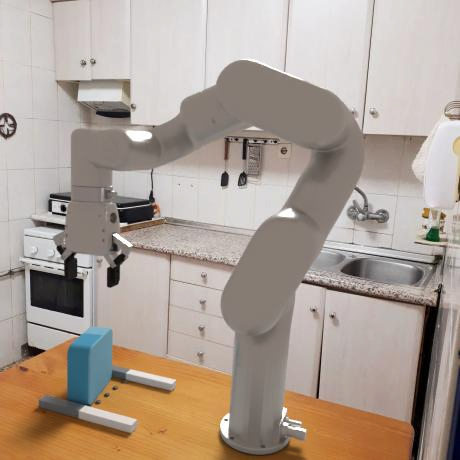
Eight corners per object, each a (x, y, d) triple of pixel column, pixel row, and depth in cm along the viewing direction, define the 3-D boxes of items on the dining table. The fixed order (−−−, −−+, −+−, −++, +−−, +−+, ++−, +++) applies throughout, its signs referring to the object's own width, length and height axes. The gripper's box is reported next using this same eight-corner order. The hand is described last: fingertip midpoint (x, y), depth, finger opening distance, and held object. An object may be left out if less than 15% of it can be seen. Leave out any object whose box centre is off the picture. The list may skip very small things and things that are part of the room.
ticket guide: (175, 386, 98) (176, 379, 98) (131, 433, 81) (131, 425, 81) (95, 367, 104) (95, 361, 104) (38, 407, 87) (38, 399, 87)
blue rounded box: (92, 376, 100) (92, 323, 98) (112, 378, 100) (113, 325, 98) (66, 405, 88) (66, 346, 86) (89, 408, 88) (89, 349, 86)
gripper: (142, 197, 88) (140, 283, 91) (66, 190, 94) (67, 272, 96) (120, 200, 81) (119, 294, 84) (40, 193, 87) (42, 281, 89)
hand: (91, 282), depth 90 cm, fingers open, 9 cm apart
